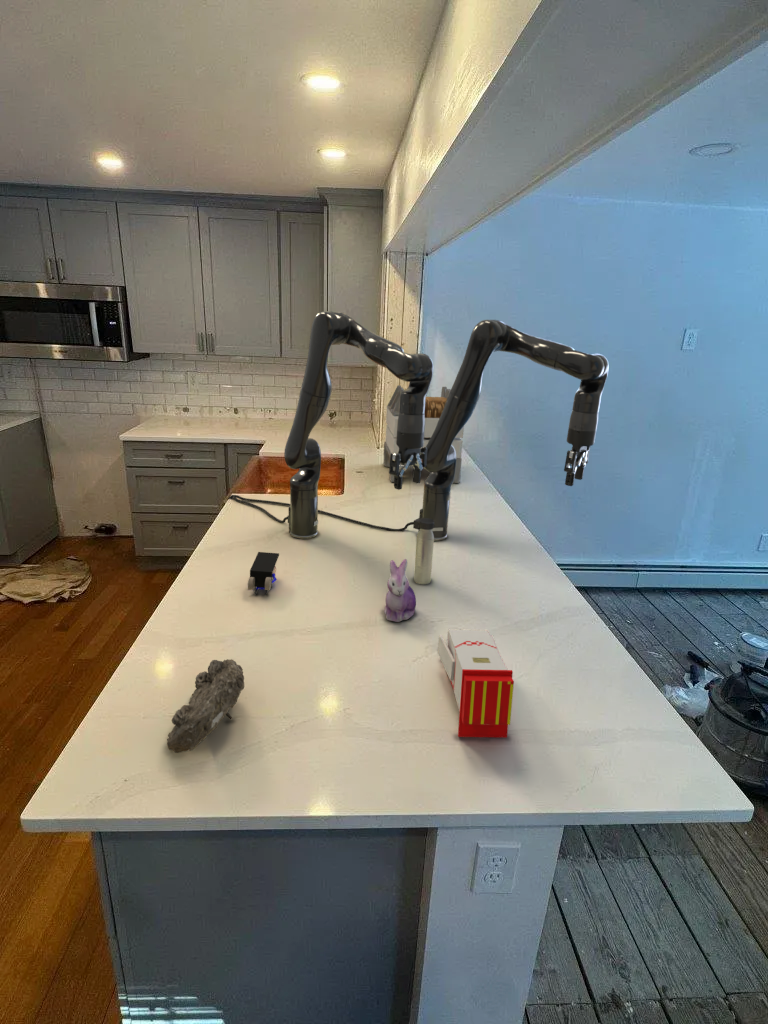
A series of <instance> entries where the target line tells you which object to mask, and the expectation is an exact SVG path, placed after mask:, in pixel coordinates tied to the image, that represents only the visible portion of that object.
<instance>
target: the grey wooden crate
mask: <svg viewBox="0 0 768 1024" xmlns="http://www.w3.org/2000/svg"><path fill="white" fill-rule="evenodd" d="M404 390H405V389H404V388H403V387H402V385H399V384H398V385H397V386H396V388H395V390H394V392H393V394H392V395H391V398H390V400H389V402H388V404H387V405H386V413H385V414H386V415H385V423H386V428H385V438H384V442H383V466H384V467H388V468H389V466H390V455H391V453H398V451H399V447H398V446H397V444H396V439H397V422H398V415H399V402H400V395H401V393H402V392H403V391H404ZM450 391H451V388H447V386H442V387H441V392H440V393H441V394H440V396H426V403H425V430H424V444H423V447H426V445H427V444H428V442H429V440H430V438H431V436H432V434H433V432H434V430H435V428H436V426H437V423H438V421H439V418H440V416H441V413H442V411H443V408H444V406H445V403H446V400H447V398H448V395H449V393H450ZM464 429H465V425H464V426H463V428H462V429H461V430H460V431H459V433H458V434H457V435H456V437H455V438H454V440H453V442H452V444H451V445H452V446H453V447H454V449H455V451H456V468H455V476H454V481H453V483H452V484H455V483H456V484H459V483H461V472H462V461H463V460H462V453H463V442H464V441H463V440H462V439H463V438H464V431H465V430H464ZM421 462H422V459H421ZM400 465H402V464H401V463H400ZM410 467H413V466H412V465H411V466H410ZM394 469H395V467H393V471H394ZM400 470H401V469H399V472H400ZM388 476H389V477H388V478H389V480H390V482H391V483H394V475H391V474H389V475H388Z"/></svg>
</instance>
